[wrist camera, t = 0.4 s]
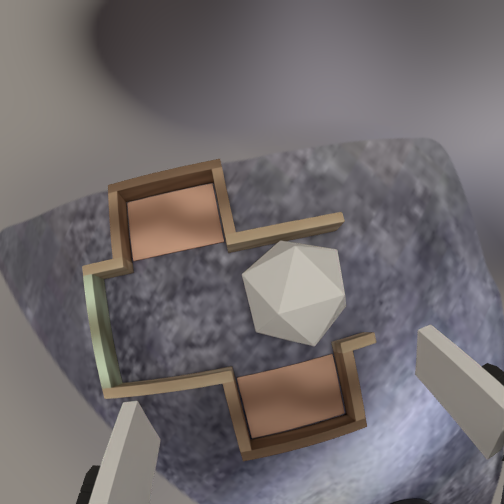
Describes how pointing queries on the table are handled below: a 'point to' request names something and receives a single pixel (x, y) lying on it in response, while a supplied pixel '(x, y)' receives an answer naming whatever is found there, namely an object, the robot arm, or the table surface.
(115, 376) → the channel
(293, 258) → the die
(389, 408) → the table surface
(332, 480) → the table surface
